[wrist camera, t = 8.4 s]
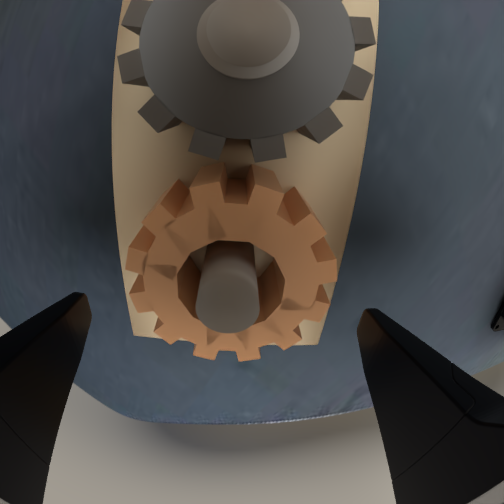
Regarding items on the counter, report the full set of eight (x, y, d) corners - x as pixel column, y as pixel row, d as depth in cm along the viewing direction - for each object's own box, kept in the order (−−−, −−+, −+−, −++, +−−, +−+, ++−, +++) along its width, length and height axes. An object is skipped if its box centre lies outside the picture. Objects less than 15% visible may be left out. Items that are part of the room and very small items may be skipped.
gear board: (366, -22, 8) (426, -66, 3) (312, 326, 17) (333, 403, 12) (144, -40, 8) (99, -95, 3) (140, 317, 16) (114, 393, 11)
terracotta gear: (330, 171, 11) (357, 194, 9) (301, 317, 15) (312, 361, 12) (144, 159, 11) (116, 178, 8) (154, 309, 14) (140, 353, 12)
